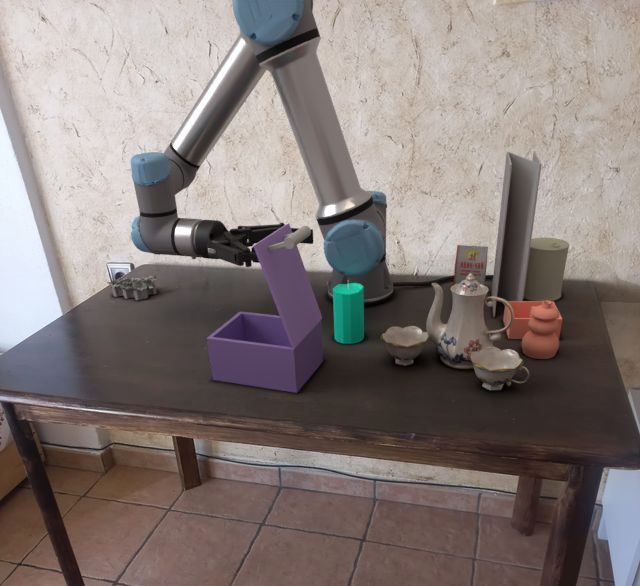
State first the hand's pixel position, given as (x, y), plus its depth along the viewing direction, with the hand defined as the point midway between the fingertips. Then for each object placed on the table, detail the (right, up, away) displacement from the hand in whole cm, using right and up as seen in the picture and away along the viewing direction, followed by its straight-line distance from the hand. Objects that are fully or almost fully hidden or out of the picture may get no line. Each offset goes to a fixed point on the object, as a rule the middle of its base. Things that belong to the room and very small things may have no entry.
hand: (299, 246), depth 118 cm
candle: (+10, -17, +7) cm, 20 cm away
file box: (-5, -24, -4) cm, 25 cm away
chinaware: (+29, -24, -6) cm, 38 cm away
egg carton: (-42, -2, +34) cm, 54 cm away
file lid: (-1, -11, -15) cm, 19 cm away
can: (+54, -5, +21) cm, 58 cm away
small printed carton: (+39, -2, +26) cm, 47 cm away
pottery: (+46, -18, +2) cm, 49 cm away
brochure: (+45, -8, +17) cm, 48 cm away
